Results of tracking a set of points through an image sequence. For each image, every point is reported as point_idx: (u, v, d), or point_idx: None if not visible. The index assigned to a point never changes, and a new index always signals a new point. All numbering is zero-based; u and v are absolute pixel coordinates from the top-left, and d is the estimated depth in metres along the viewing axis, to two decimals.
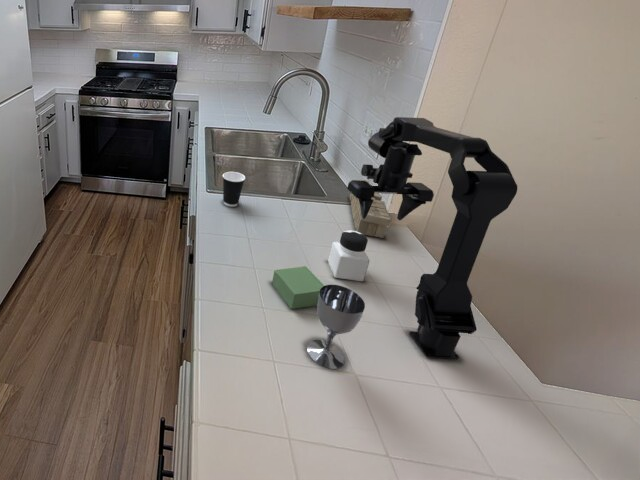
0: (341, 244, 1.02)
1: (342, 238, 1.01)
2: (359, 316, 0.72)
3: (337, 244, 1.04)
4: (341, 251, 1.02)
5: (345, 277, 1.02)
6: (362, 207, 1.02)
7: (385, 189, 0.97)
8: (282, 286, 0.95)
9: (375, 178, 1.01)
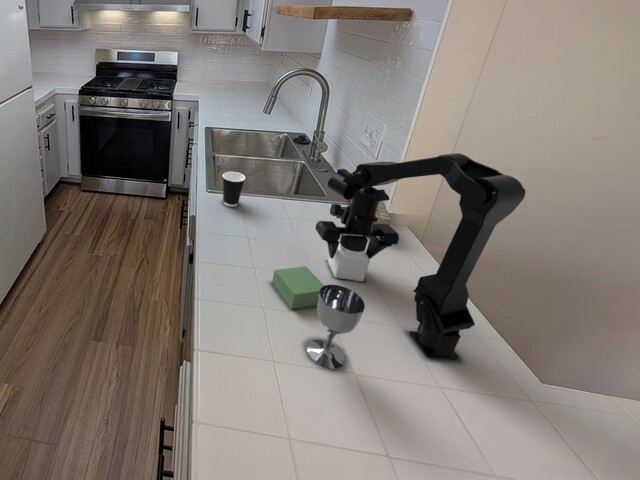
0: (341, 244, 1.02)
1: (342, 238, 1.01)
2: (359, 316, 0.72)
3: None
4: (341, 251, 1.02)
5: (345, 277, 1.02)
6: (329, 248, 1.02)
7: (351, 232, 0.98)
8: (282, 286, 0.95)
9: (342, 219, 1.02)
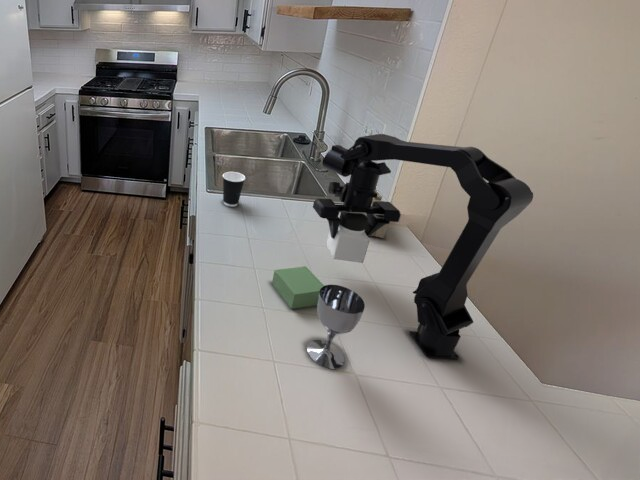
0: (340, 224, 0.97)
1: (341, 217, 0.97)
2: (359, 316, 0.72)
3: None
4: (340, 231, 0.97)
5: (344, 258, 0.98)
6: (331, 227, 0.98)
7: (350, 209, 0.94)
8: (282, 286, 0.95)
9: (341, 196, 0.97)
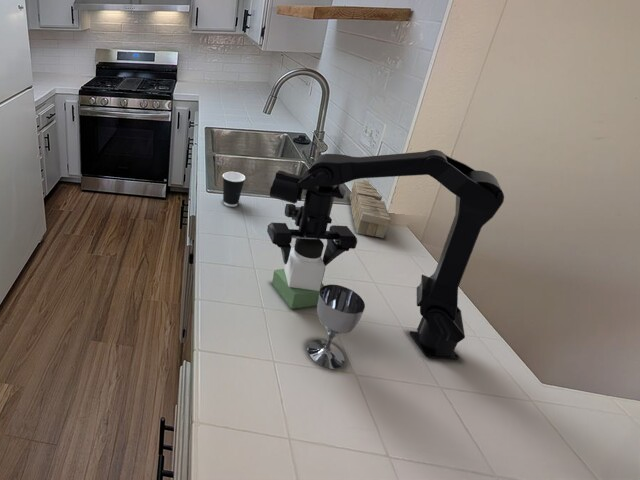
0: (295, 250, 0.92)
1: (296, 243, 0.91)
2: (359, 316, 0.72)
3: (292, 250, 0.94)
4: (295, 258, 0.92)
5: (300, 286, 0.92)
6: (282, 252, 0.92)
7: (304, 234, 0.88)
8: (282, 286, 0.95)
9: (296, 220, 0.92)
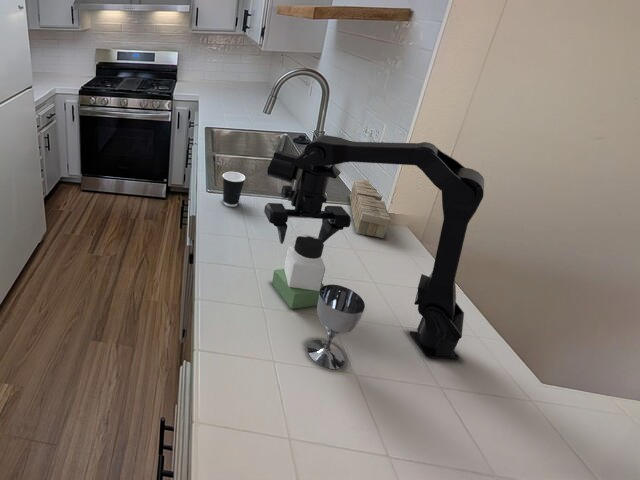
0: (295, 250, 0.92)
1: (296, 243, 0.91)
2: (359, 316, 0.72)
3: (292, 250, 0.94)
4: (295, 258, 0.92)
5: (300, 286, 0.92)
6: (279, 232, 0.95)
7: (300, 214, 0.91)
8: (282, 286, 0.95)
9: (292, 201, 0.94)
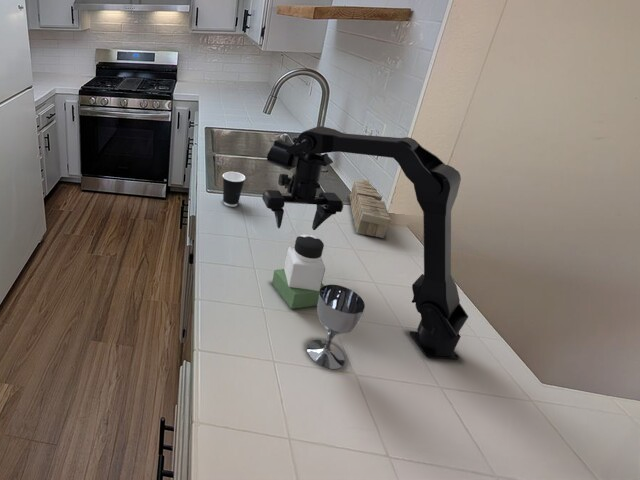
0: (295, 250, 0.92)
1: (296, 243, 0.91)
2: (359, 316, 0.72)
3: (292, 250, 0.94)
4: (295, 258, 0.92)
5: (300, 286, 0.92)
6: (276, 217, 1.01)
7: (295, 199, 0.97)
8: (282, 286, 0.95)
9: (289, 188, 1.01)
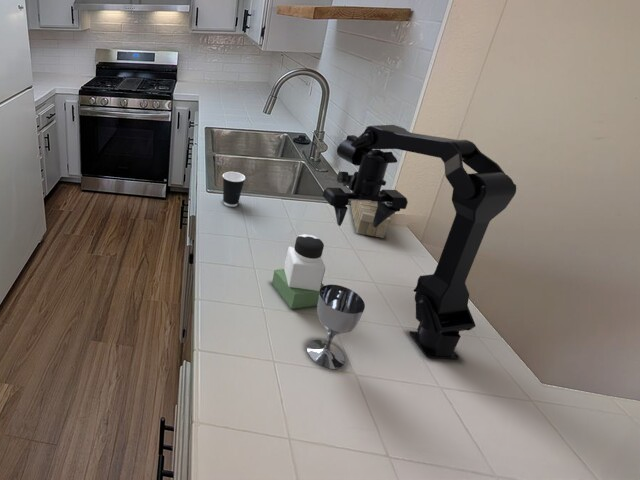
0: (295, 250, 0.92)
1: (296, 243, 0.91)
2: (359, 316, 0.72)
3: (292, 250, 0.94)
4: (295, 258, 0.92)
5: (300, 286, 0.92)
6: (337, 214, 1.01)
7: (359, 197, 0.97)
8: (282, 286, 0.95)
9: (350, 185, 1.01)
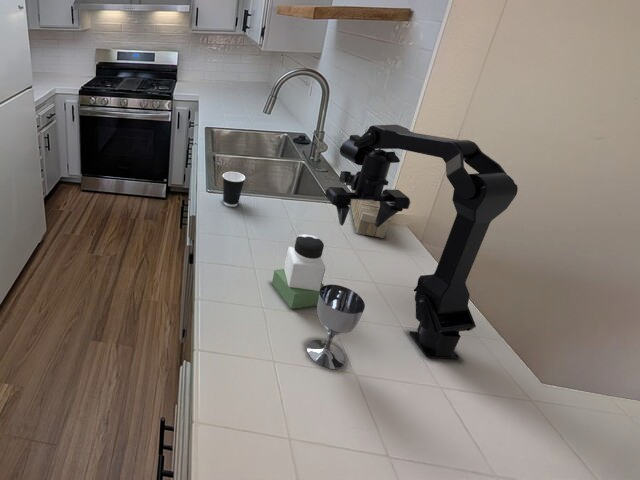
0: (295, 250, 0.92)
1: (296, 243, 0.91)
2: (359, 316, 0.72)
3: (292, 250, 0.94)
4: (295, 258, 0.92)
5: (300, 286, 0.92)
6: (339, 214, 1.01)
7: (361, 196, 0.97)
8: (282, 286, 0.95)
9: (352, 185, 1.01)
